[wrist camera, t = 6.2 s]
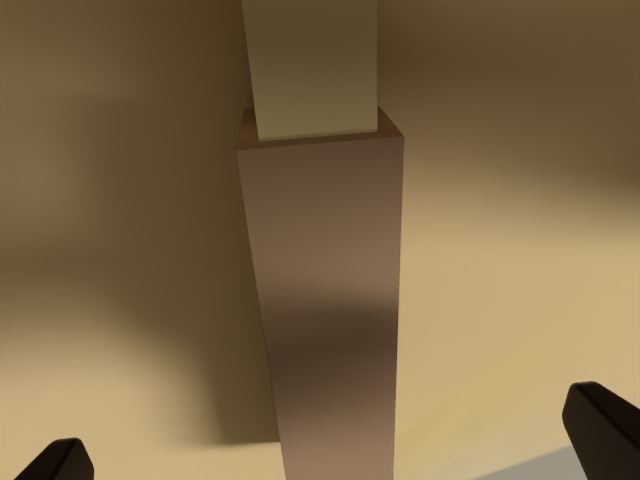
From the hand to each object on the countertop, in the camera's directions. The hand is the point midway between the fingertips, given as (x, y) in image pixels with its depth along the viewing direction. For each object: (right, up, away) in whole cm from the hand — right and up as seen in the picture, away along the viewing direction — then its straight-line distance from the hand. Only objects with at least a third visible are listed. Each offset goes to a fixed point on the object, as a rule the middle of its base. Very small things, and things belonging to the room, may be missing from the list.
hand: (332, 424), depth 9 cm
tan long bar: (0, +3, +5) cm, 5 cm away
